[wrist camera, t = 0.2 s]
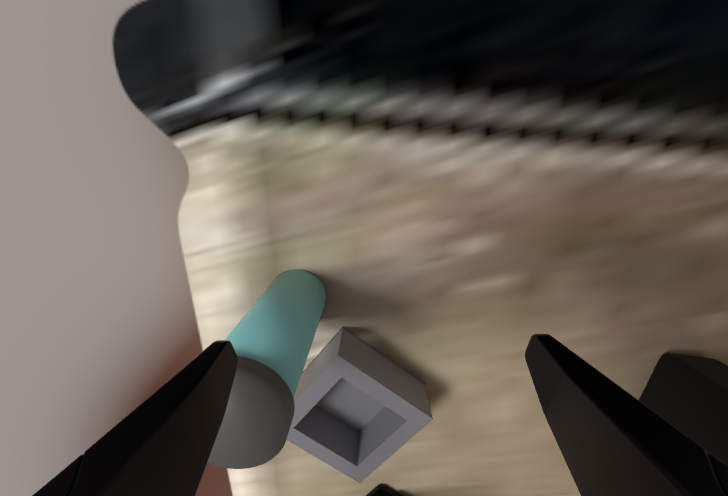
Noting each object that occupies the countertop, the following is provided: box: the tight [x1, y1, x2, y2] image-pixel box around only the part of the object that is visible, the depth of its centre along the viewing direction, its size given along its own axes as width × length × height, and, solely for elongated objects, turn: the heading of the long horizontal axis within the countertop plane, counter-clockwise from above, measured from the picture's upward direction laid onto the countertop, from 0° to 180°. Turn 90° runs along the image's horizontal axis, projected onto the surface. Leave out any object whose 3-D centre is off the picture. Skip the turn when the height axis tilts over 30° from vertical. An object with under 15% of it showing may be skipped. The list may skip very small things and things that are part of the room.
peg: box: [207, 270, 326, 469], centre depth 19 cm, size 6×6×13 cm
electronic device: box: [639, 354, 728, 466], centre depth 23 cm, size 4×10×10 cm, turn 174°
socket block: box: [286, 327, 433, 483], centre depth 26 cm, size 10×10×4 cm
